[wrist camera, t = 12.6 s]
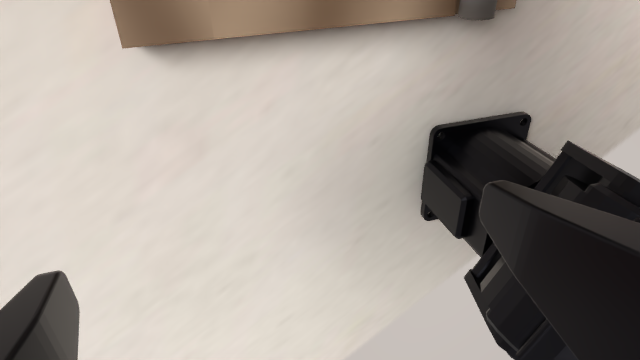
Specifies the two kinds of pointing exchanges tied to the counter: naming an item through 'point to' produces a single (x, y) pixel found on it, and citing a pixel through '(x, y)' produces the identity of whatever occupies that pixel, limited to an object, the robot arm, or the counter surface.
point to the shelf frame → (274, 16)
